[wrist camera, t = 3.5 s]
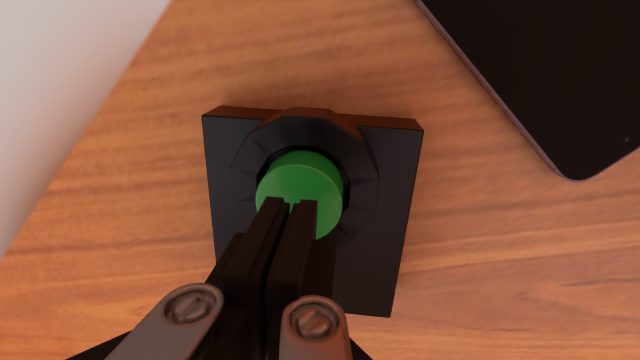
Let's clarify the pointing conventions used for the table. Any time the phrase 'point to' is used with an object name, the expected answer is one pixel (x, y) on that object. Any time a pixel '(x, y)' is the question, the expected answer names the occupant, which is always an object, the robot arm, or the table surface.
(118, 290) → the table surface
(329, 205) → the lamp switch
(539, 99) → the smartphone
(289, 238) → the robot arm
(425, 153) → the table surface
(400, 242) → the lamp base
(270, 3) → the table surface
